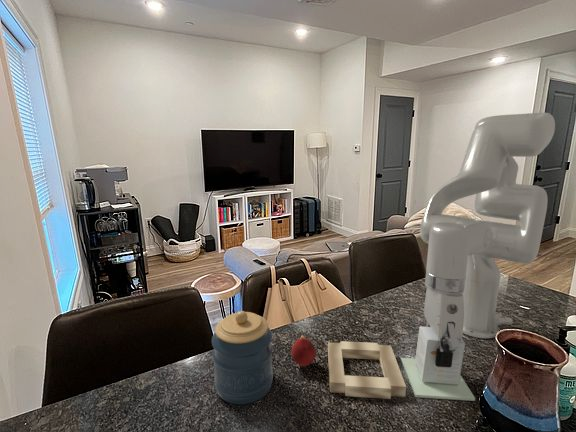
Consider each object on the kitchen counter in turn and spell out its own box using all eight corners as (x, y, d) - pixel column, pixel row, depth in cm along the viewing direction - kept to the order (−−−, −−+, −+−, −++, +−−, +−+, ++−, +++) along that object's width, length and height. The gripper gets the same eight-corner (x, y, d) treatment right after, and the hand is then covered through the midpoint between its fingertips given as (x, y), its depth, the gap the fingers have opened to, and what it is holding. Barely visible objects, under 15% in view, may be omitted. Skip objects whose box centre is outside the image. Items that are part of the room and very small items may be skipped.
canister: (249, 356, 80) (247, 292, 76) (285, 383, 71) (284, 311, 67) (203, 383, 71) (198, 312, 67) (237, 417, 62) (233, 337, 58)
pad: (451, 362, 77) (451, 360, 77) (475, 400, 65) (475, 398, 65) (400, 359, 78) (400, 357, 78) (415, 397, 67) (415, 394, 66)
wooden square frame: (389, 352, 81) (390, 343, 81) (406, 399, 66) (407, 389, 65) (327, 349, 83) (328, 340, 82) (330, 395, 67) (330, 384, 67)
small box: (448, 368, 74) (455, 328, 72) (459, 385, 69) (466, 342, 67) (413, 365, 75) (419, 325, 73) (421, 382, 69) (427, 339, 67)
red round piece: (317, 360, 78) (318, 331, 77) (312, 376, 73) (312, 345, 71) (295, 355, 80) (295, 327, 78) (288, 370, 75) (288, 340, 73)
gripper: (484, 300, 58) (473, 384, 62) (446, 266, 75) (439, 334, 79) (441, 299, 59) (433, 382, 63) (414, 265, 76) (408, 332, 79)
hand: (437, 354), depth 71 cm, fingers open, 6 cm apart
